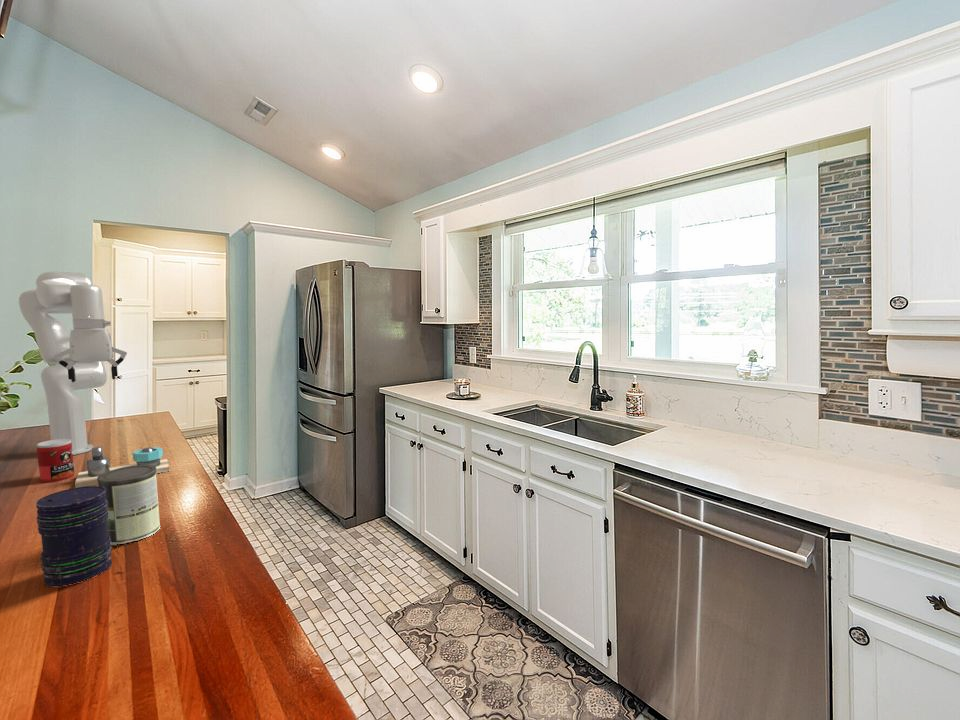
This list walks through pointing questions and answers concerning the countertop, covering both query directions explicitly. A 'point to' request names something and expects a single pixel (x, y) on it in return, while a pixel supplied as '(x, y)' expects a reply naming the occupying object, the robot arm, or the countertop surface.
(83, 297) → the robot arm
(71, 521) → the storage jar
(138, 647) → the countertop surface
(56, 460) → the canned food
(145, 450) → the knob
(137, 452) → the teal octagonal collar
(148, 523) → the coffee can
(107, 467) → the stand
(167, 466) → the base board
